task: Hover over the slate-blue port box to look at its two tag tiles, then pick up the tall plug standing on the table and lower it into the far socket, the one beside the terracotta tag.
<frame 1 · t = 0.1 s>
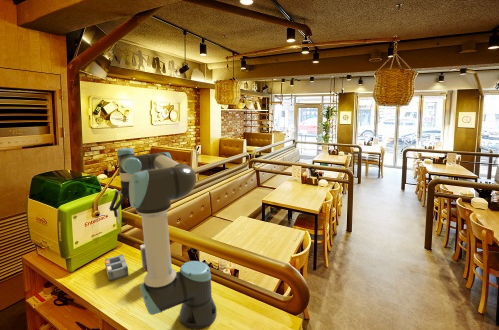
hand: (133, 219, 146), 28 cm above the counter, fingers open, 13 cm apart
mechanical component: (157, 279, 143), on the counter
port box: (117, 271, 149), on the counter
plug: (146, 267, 152), on the counter
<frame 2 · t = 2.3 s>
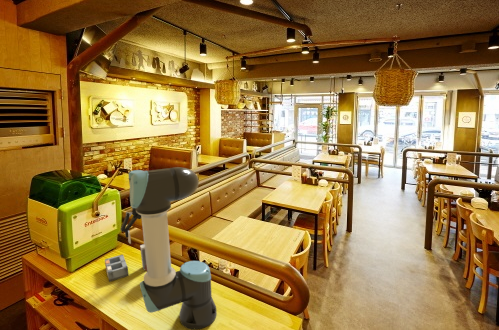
hand: (143, 239, 148), 17 cm above the counter, fingers open, 13 cm apart
nothing on the counter moved.
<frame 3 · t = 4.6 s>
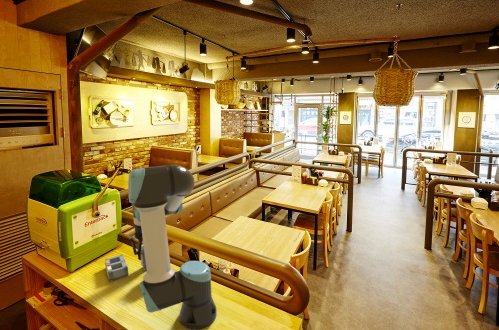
hand: (146, 263, 152), 3 cm above the counter, fingers closed on plug, 4 cm apart
plug: (146, 267, 152), on the counter, touching gripper
everything else where it was.
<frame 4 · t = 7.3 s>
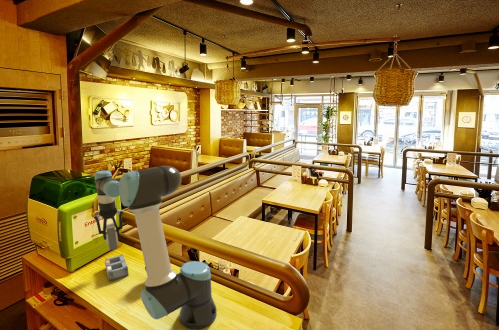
hand: (112, 243, 148), 15 cm above the counter, fingers closed on plug, 4 cm apart
plug: (113, 247, 149), point 12 cm above the counter, touching gripper
everything else where it was.
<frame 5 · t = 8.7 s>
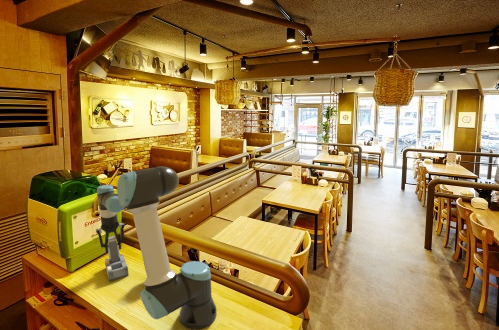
hand: (114, 256, 150), 7 cm above the counter, fingers closed on plug, 4 cm apart
plug: (114, 260, 151), point 5 cm above the counter, touching gripper
everything else where it was.
when the fingers open (6 cm above the counter, at t = 10.0 s): plug drops 2 cm, resting on port box.
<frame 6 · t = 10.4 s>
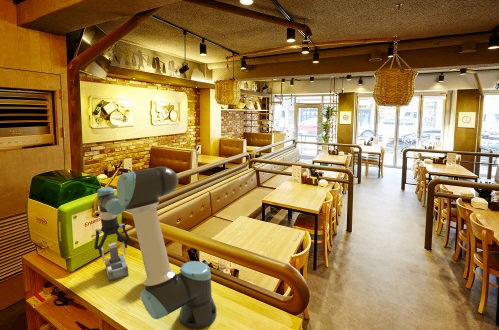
hand: (114, 256, 150), 7 cm above the counter, fingers open, 9 cm apart
plug: (115, 266, 152), point 1 cm above the counter, touching port box
everything else where it was.
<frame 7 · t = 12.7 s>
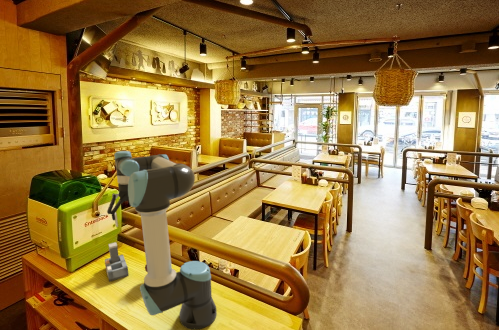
hand: (131, 222, 146), 27 cm above the counter, fingers open, 13 cm apart
nothing on the counter moved.
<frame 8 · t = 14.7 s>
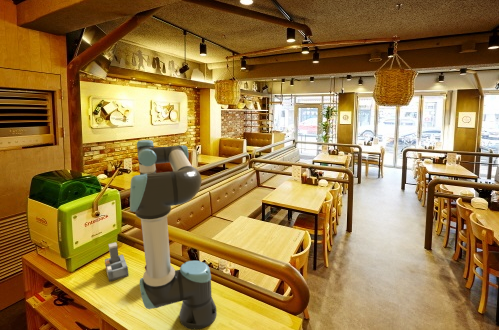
hand: (151, 211, 146), 32 cm above the counter, fingers open, 13 cm apart
nothing on the counter moved.
at the end: plug 0.0 cm from the target spot on the port box, point 1.0 cm above the port box's base; plug tilted 0°; the gripper is holding nothing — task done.
